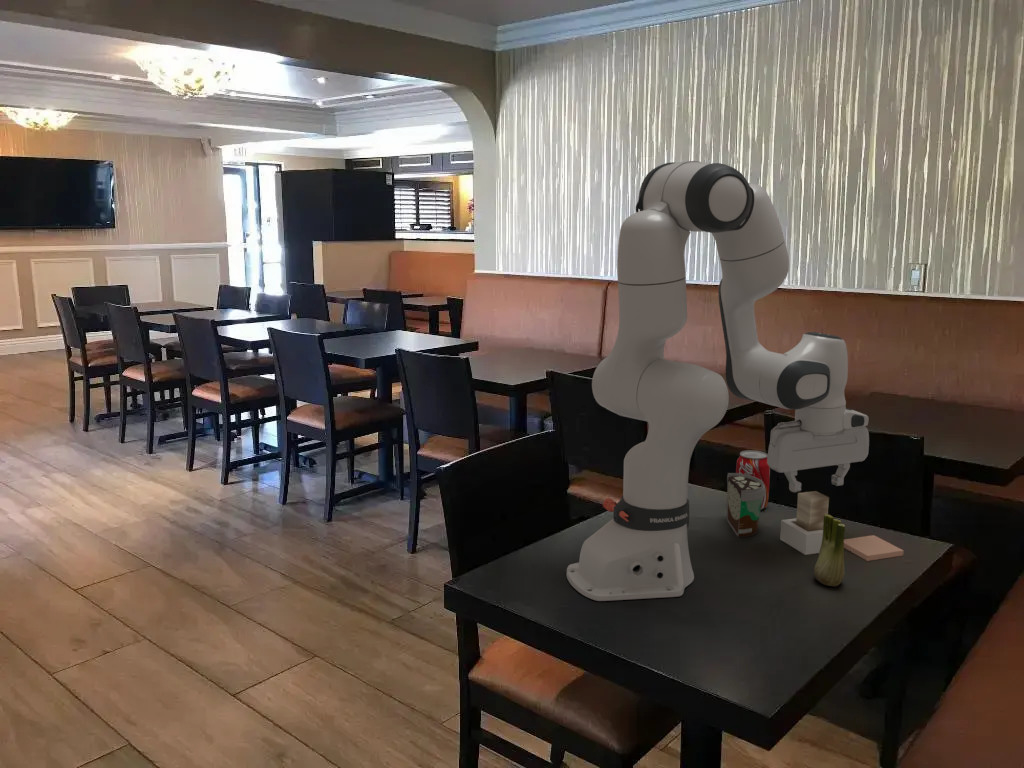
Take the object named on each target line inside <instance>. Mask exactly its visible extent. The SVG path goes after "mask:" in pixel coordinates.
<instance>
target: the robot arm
mask: <svg viewBox="0 0 1024 768" xmlns="http://www.w3.org/2000/svg"><path fill="white" fill-rule="evenodd" d="M692 232H699V233H700V232H701V233H703V232H705V233H711V235H712V237H713V239H714V241H715V245H716V246H715V247H716V249H717V254H718V258H719V262H720V266H721V273H722V274H721V275H722V277H721V279H720V281H719V285H718V303H719V304H718V305H719V311H720V321H721V327H722V331H723V339H724V345H725V355H726V356H725V379H724V378H723V377H724V376H722V375H721V374H720V373H718V372H715V371H712V370H711V369H708V368H705V367H703V366H701V365H698V364H696V363H689V362H688V363H687V362H682V361H681V362H680V361H677V360H676V361H675V360H669V359H666V358H665V355H664V354H665V353H664V352H665V346H666V342H667V340H669V339H671V338H673V337H674V336H675V335H677V334H679V333H680V331H681V330H682V329H683V328H684V327H685V325H686V324H687V323H686V322H687V320H688V302H687V301H688V300H687V299H688V298H687V277H686V276H687V274H686V262H685V249H686V245H687V242H688V239H689V236H690V234H691V233H692ZM618 236H619V238H618V245H617V265H616V266H617V289H618V321H619V322H618V331H617V336H616V340H615V342H614V345H613V347H612V349H611V351H610V352H609V354H608V355H607V356H606V357H605V358H603V359H602V360H601V361H600V362H599V363H598V365H597V366H596V368H595V370H594V372H593V376H592V379H591V390H592V394H593V398H594V399H595V402H596V403H597V405H599V406H601V407H603V408H604V409H606V410H608V411H610V412H612V413H614V414H616V415H618V416H620V417H624V418H629V419H633V420H639V421H644V422H647V423H648V430H647V435H646V438H645V440H644V441H642V442H639V443H637V444H636V445H634V446H632V447H631V448H630V449H629V450H628V451H627V453H626V454H625V457H624V459H623V480H622V481H623V482H622V483H623V486H622V489H623V490H622V491H623V493H622V496H621V497H620V499H619V501H618V502H616V501H614V499H612V498H610V497H608V498H605V499H604V501H603V503H602V506H603V508H604V509H605V510H606V511H608V512H609V513H612V512H613V517H612V518H611V519H610V520H609V521H608V522H606V523H605V524H604V525H603V526H602V527H601V528H599V529H598V530H596V532H594V533H593V534H592V535H590V536H588V537H587V539H585V540H584V541H583V543H582V546H581V550H580V554H579V561H578V562H575V563H571V564H568V566H567V567H566V573H565V574H566V579H567V581H568V583H569V584H570V586H572V587H573V588H574V589H575V590H576V591H577V592H578V593H580V594H581V595H582V596H584V597H586V598H588V599H591V600H594V601H597V602H607V601H609V602H610V601H623V600H626V601H627V600H642V599H643V600H644V599H657V598H658V599H659V598H675V597H678V598H679V597H681V596H682V595H683V594H684V592H685V588H686V587H688V586H689V585H691V584H692V583H693V582H694V580H695V574H694V571H693V567H692V561H691V557H690V551H689V542H688V528H689V524H690V500H689V498H688V485H689V484H688V483H689V472H690V463H691V458H692V455H693V452H694V449H695V447H696V445H697V443H698V441H700V439H701V438H702V436H704V434H706V433H707V432H708V431H709V430H711V429H713V428H714V427H717V425H718V424H719V423H720V422H721V421H722V420H723V418H724V416H725V414H726V413H727V410H728V407H729V398H730V396H729V393H730V392H731V393H732V394H733V396H735V397H736V398H739V399H741V400H747V401H752V402H753V401H754V402H759V403H762V404H766V405H770V406H773V407H778V408H781V409H784V410H791V411H792V410H793V411H795V412H794V420H792V421H787V422H784V421H783V422H778V423H777V425H775V426H774V427H773V428H772V429H771V430H770V437H769V438H770V439H769V440H770V441H769V444H768V451H767V455H768V456H767V464H768V465H769V467H770V470H773V471H775V472H777V473H781V474H782V473H784V475H785V477H786V479H787V481H788V489H789V491H790V492H792V493H800V492H801V491H802V482H800V481H798V480H797V478H796V476H797V475H798V471H802V470H809V469H816V468H824V467H831V466H838V467H837V469H836V472H835V473H834V474H831V478H830V479H831V485H834V486H836V487H838V486H839V487H840V486H843V485H845V484H844V483H845V482H844V479H845V476H846V475H847V474H848V471H849V470H850V469H851V463H852V464H853V463H858V462H863V461H865V460H866V459H867V457H868V455H869V449H870V448H869V447H870V434H869V430H868V428H867V426H868V424H869V416H868V415H867V414H865V413H862V412H860V411H856V410H854V409H851V408H849V407H848V408H847V407H846V405H847V401H846V397H845V396H846V395H845V389H846V385H847V382H848V373H849V369H848V368H849V360H848V359H849V358H848V357H849V356H848V348H847V344H846V341H845V339H843V338H842V337H840V336H839V335H834V334H828V333H821V332H816V331H807V332H805V333H803V334H802V337H801V339H800V341H799V342H798V343H797V344H796V345H795V346H794V347H792V348H791V349H790V350H788V351H787V352H784V353H780V352H774V351H771V350H768V349H766V348H765V347H764V346H763V345H762V344H761V343H760V342H759V337H758V331H757V329H758V328H757V321H756V314H755V304H756V301H758V300H760V299H761V300H762V299H763V298H765V297H766V296H768V295H770V294H772V293H774V292H775V291H776V290H777V289H778V288H779V287H780V286H781V285H782V284H783V283H784V282H785V280H786V278H787V275H788V273H789V271H790V259H789V252H788V248H787V244H786V240H785V236H784V233H783V229H782V225H781V223H780V219H779V216H778V215H777V212H776V209H775V207H774V204H773V202H772V200H771V198H770V196H769V194H768V192H767V190H766V189H765V188H763V186H761V185H759V184H757V183H752V182H748V180H747V178H746V177H745V176H744V175H743V173H741V171H739V170H738V169H736V168H734V167H733V166H730V165H728V164H724V163H721V162H720V163H719V162H714V163H710V162H705V161H704V162H702V161H698V160H686V161H679V162H676V161H675V162H672V161H671V162H667V163H666V162H665V163H663V164H660V165H658V166H656V167H654V168H652V169H651V170H650V171H649V172H648V173H647V174H646V175H645V177H644V179H643V180H642V182H641V185H640V188H639V193H638V200H637V203H636V205H635V212H634V213H633V214H631V215H630V216H628V217H627V218H626V219H624V221H623V222H622V224H621V226H620V229H619V235H618ZM729 390H730V392H729Z"/></svg>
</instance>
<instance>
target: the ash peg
mask: <svg viewBox="0 0 1024 768" xmlns="http://www.w3.org/2000/svg"><path fill="white" fill-rule="evenodd" d="M829 503H830V497H829V496H828V495H826V494H823V493H821V492H820V491H819V492H818V491H817V490H814V491H813V490H812V491H805V492H797V504H796V517H795V518H796V525H797V526H799V527H801V528H803V529H804V530H806V531H808V532H809V531H816V530H823V523H824V515H826V514H827V515H829Z"/></svg>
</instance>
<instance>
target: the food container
mask: <svg viewBox="0 0 1024 768" xmlns="http://www.w3.org/2000/svg"><path fill="white" fill-rule="evenodd" d="M726 477H727V478H726V482H727V487H726V488H727V491H726V493H727V494H726V495H727V496H726V499H727V500H726V501H727V503H726V507H727V508H726V521H727V523H728V524H729V525H730V527H731V529H732V530H733V532H734V533H735V535H736V536H737V538H746V537H751V536H754V535H756V533H758V530H759V522H760V514H761V510H760V508H761V501H762V498H763V497H764V496H765V495H766V492H765V486H764V484H763V482H762V481H761V480H760V479H758V478H756V477H753V476H750V475H745V474H738V473H736V472H727V476H726Z"/></svg>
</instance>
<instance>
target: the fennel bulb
mask: <svg viewBox="0 0 1024 768" xmlns="http://www.w3.org/2000/svg"><path fill="white" fill-rule="evenodd" d="M845 530H846V526H845V524H843V523H842V521H841V520H840V519H835V518H834V516H832V515H831V514H828V515H827V514H826V515H824V523H823V538H822V543H821V547H820V551H819V553H818V558H817V559H816V560H817V561H816V563H815V565H814V568H813V574H814V577H815V579H816V580H817V581H818V583H820V584H822V585H824V586H829V587H838V586H839V585H841V583H842V581H843V579H844V576H845V561H844V560H845V559H844V557H845V555H844V553H845V552H844V551H845V550H844V549H845V548H844V539H845Z"/></svg>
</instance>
